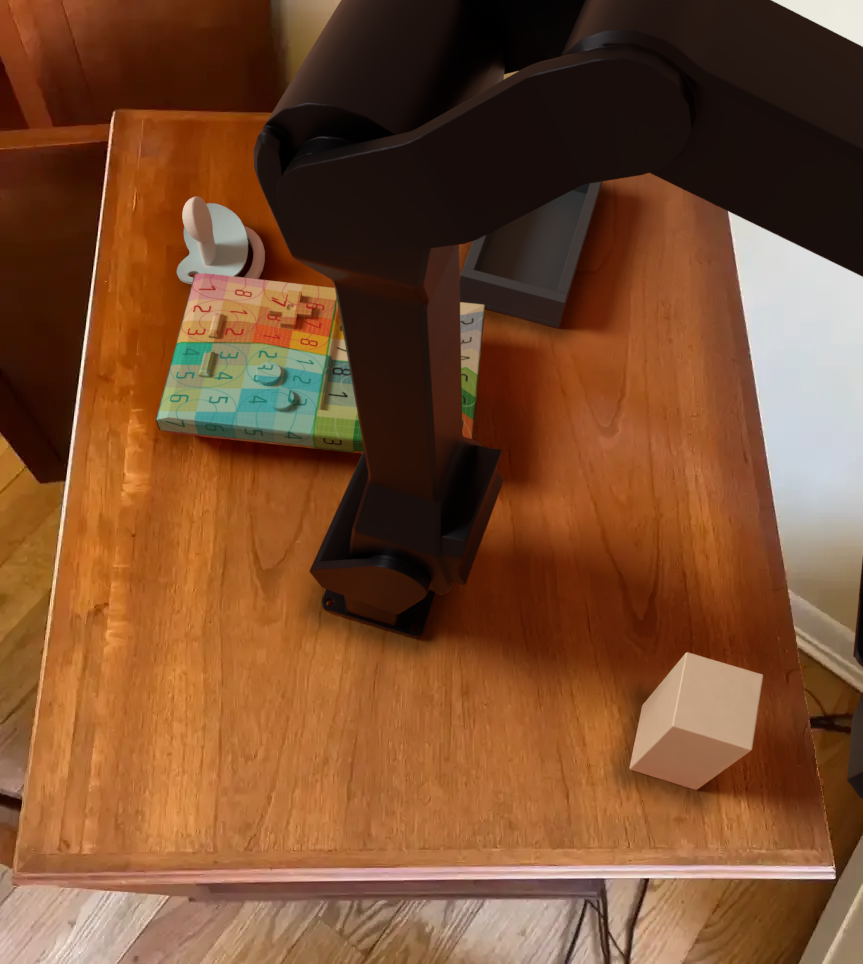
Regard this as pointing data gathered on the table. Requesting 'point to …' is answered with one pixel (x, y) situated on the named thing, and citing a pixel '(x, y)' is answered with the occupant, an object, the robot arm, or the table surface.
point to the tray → (531, 259)
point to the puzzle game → (278, 366)
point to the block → (697, 721)
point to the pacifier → (217, 242)
